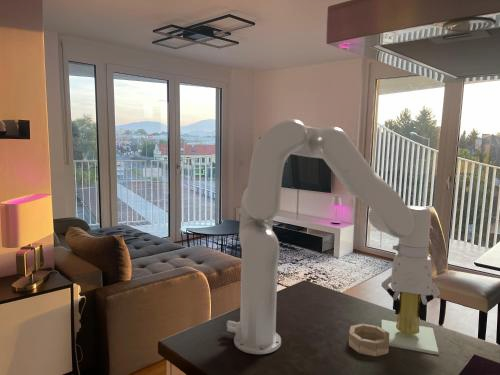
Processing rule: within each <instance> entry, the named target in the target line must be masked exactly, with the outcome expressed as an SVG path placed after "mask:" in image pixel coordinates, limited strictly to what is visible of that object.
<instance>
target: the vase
mask: <svg viewBox="0 0 500 375" xmlns="http://www.w3.org/2000/svg"><path fill="white" fill-rule="evenodd" d="M398 298H399V308H398V314H396V315H397V316H396V322H397V324H396V328H397V329H398V330H399V331H401V332H403V333H406V334H417V333H419V326H420V318H419V313H420V300H421V296H420V295H416V294H411V293H403V292H400V294H399V296H398Z"/></svg>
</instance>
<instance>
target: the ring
mask: <svg viewBox="0 0 500 375" xmlns="http://www.w3.org/2000/svg"><path fill="white" fill-rule="evenodd" d="M348 333H349V334H348V336H349V337H348V346H349V347H350V348H352V349H353V350H354V351H356V352H357V353H358V354H361V355H367V356H372V357H380V356H383V355H387V354H389V351H390V350H389V348H390V346H389V332H387V331H385V330H384V329H382V328H381V327H380V326H378V325H373V324H367V323H360V324H359V323H358V324H355V325H351V326H350V328H349V332H348Z"/></svg>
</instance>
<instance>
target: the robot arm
mask: <svg viewBox="0 0 500 375" xmlns="http://www.w3.org/2000/svg"><path fill="white" fill-rule="evenodd" d="M290 155H295V156H300V157H307V158H313V159H314V158H316V159H322V160H323V161H324V162H325V164H326V165H327V166H328V167H329V169H330V170H331V171H332V172H333V174H334V175H335V176H336V178H337V179H338V181H339V182H340V183H341V185H342V186H343V188H345V189H346V190H347V191H348V192H349V193H350V194H352V195H353V196H354V197H356V198H358V199H359V200H360V201H362V202H363V203H364V204H366V205H367V207H368V208H370V209H371V210H369V214H368V221H369V222H370V224H371V226H372V227H373V228H375V229H377V230H378V231H380V232H382V233H384V234H387V235H389V236H392V237H393V238H397V239H398V243H397V244H393V245H392V250H395V251H396V253H395V255H394V257H393V261H392V266H391V267H392V268H391V275H390V276H388V277H387V278H386V279H385V280H383V281H382V282H381V284H380V285H381V287H382V288H383V289H384V290H385V291H386V292H387V293H388V295H389V296H390V297H391V298H392V310H393V311H394V312H395V315H397V314H398V308H399V296H400V292H403V293H411V294H416V295H420V313H419V319H420V320H422V319H423V315H426V308H427V307H426V305H428V303H430V302H431V301H433V300H434V299H435V298H437V297H438V296H440V295H441V294H442V293H441V291H440V289H439V288H438V287H437V285H436V284H435V283H434V282H433V266H432V265H433V264H432V258H431V257H430V256H429V245H430V244H429V243H430V233H431V232H430V230H431V218H432V215H431V214H432V212H431V210H430V208H428V207H426V206H422V205H407V204H406V203H405V201H404V200H403V199H402V198H401V196H400V195H399V194H398V193H397V191H395V190H394V188H393V187H391V185H390V184H388V183H387V182H386V181H385V180H384V179H383V178H382V177H381V175H380V174H378V173H377V172H376V171H375V170H374V168H372V167H371V165H370V164H369V163H368V161H367V160H366V158H365V157H364V156H363V155H362V153H361V152H360V151H359V149H358V148H357V146H356V145H355V144H354V142H353V141H352V140H351V138H350V137H349V135H348V134H347V133H346V132H345V131H344V130H343V129H341V128H340V127H337V126H328V127H312V126H307V125H305V124H304V123H303V122H302V121H301V120H299V119H296V118H288V119H284V120H282V121H279V122H277V123H276V124H274V125H273V126H270V128H268V129H267V130H266V131H265V132H264V133H263V134H262V135H261V136H260V138H259V139H258V141H257V142H256V144H255V146H254V148H253V151H252V153H251V160H250V165H249V166H250V168H249V172H248V173H249V174H248V185H247V186H246V188H245V189H244V191H243V193H242V195H241V202H240V215H239V229H238V237H239V243H240V247H241V263H240V264H241V267H240V268H241V269H240V307H239V308H240V311H239V312H240V314H239V315H240V319H239V321H238V322H237V321H234V320H227V322H226V330H227V332H230V333H234V334H235V335H234V338H233V342H234V343H233V344H234V346H235V347H236V348H237V349H238V350H240V351H242V352H243V353H247V354H252V355H266V354H271V353H273V352H276V351H277V350H279V348H280V347H281V345H282V338H281V336H280V334H278V332H276V330H277V328H276V325H277V298H278V297H277V296H278V295H277V293H278V292H277V290H278V286H277V285H278V269H279V268H278V267H279V260H280V242H279V239H278V237H277V235H276V234H275V231H273V222H274V218H275V217H277V215H278V213H279V211H280V209H281V208H280V207H281V198H282V196H281V195H282V183H283V182H282V180H283V175H284V174H283V173H284V169H285V168H284V167H285V164H286V161H287V159H288V158H289V157H290ZM389 285H390V286H389Z"/></svg>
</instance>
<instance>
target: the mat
mask: <svg viewBox="0 0 500 375" xmlns="http://www.w3.org/2000/svg"><path fill="white" fill-rule="evenodd" d="M396 324H397V321H392V320H387V319H381V327H380V328H382V329H384V330H385V331H387V332H389V347H394V348H395V347H396V348H399V349H405V350H411V351H416V352H421V353H427V354H432V355H436V356H437V355H438V356H439V353H440V352H439V349H438V344H437V341H436V336H435V333H434V328H433V327H429V326H422V325H419V333H417V334H406V333H403V332H401V331H399V330H398V329H397V328H396Z"/></svg>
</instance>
